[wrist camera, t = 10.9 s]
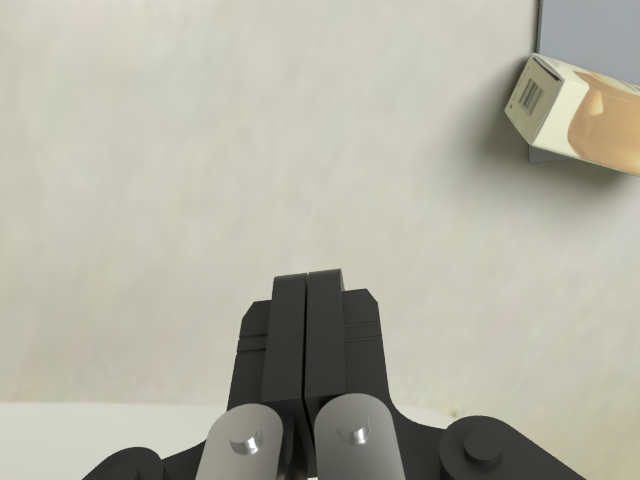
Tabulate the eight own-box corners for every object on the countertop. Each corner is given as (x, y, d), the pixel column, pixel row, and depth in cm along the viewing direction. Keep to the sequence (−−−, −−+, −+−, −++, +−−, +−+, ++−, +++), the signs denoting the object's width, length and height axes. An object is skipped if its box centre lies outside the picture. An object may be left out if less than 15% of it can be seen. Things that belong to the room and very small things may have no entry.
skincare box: (529, 49, 37) (690, 98, 39) (500, 111, 39) (653, 154, 41) (568, 80, 32) (752, 135, 34) (531, 150, 34) (706, 197, 36)
